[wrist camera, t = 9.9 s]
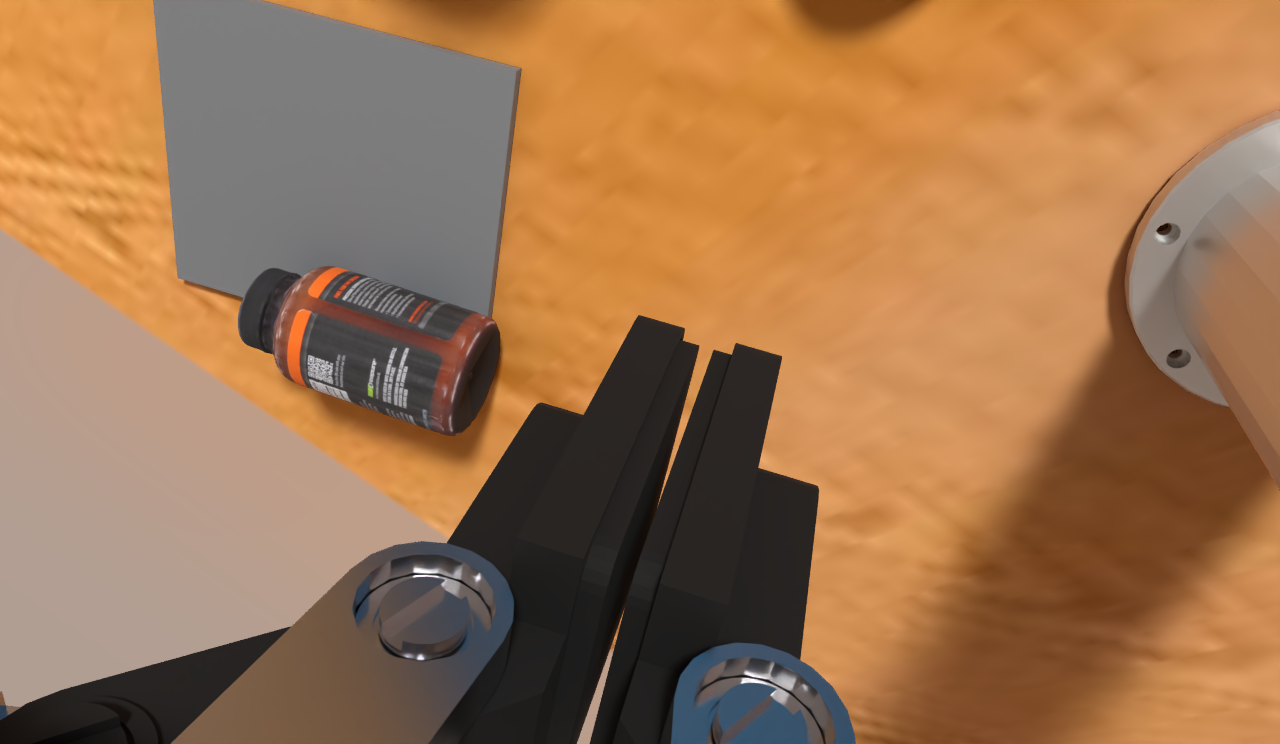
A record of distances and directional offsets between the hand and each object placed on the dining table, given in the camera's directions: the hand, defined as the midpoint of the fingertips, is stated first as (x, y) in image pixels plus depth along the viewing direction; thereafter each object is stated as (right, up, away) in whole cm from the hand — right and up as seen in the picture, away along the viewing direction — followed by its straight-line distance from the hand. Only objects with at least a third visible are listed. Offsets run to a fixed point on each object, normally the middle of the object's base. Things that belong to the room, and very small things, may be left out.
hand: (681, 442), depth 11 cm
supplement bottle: (-8, 0, +32) cm, 33 cm away
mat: (-15, +10, +33) cm, 38 cm away
